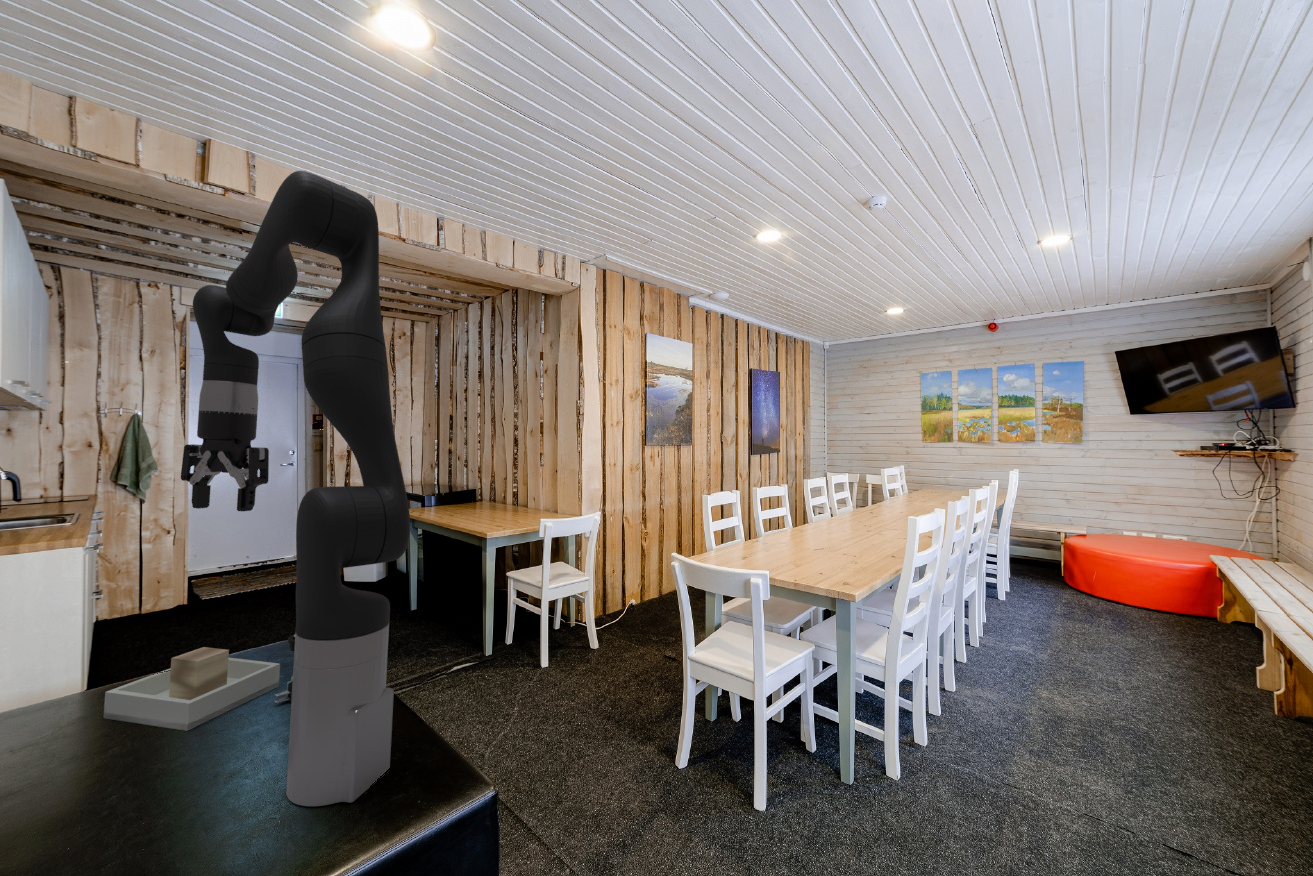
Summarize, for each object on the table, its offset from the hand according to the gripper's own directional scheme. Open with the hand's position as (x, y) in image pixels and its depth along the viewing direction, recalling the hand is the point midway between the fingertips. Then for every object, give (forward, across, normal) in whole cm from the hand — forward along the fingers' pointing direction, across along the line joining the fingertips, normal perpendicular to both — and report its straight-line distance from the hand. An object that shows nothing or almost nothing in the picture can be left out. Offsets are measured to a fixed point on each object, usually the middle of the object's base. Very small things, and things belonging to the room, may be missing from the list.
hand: (222, 509), depth 86 cm
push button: (+27, -20, +3) cm, 33 cm away
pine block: (+26, -7, +8) cm, 28 cm away
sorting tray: (+27, -7, +8) cm, 29 cm away
